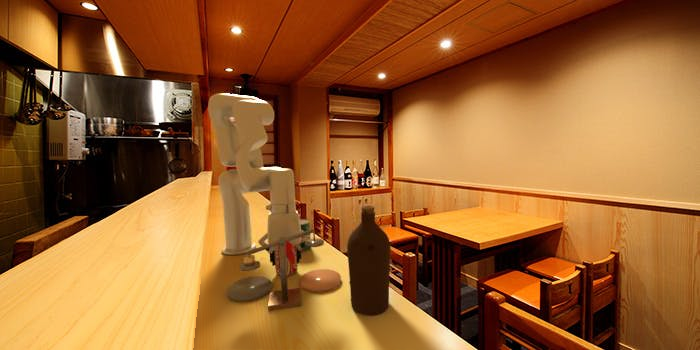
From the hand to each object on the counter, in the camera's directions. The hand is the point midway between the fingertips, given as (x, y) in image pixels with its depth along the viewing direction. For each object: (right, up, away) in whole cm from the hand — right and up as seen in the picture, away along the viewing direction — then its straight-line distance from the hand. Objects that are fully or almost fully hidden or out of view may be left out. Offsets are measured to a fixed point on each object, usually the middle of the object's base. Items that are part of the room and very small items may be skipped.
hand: (286, 262), depth 90 cm
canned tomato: (+1, -1, +21) cm, 21 cm away
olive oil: (+25, -5, -19) cm, 32 cm away
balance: (+3, -5, -16) cm, 17 cm away
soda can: (0, -3, 0) cm, 4 cm away
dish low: (-8, -5, -10) cm, 14 cm away
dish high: (+12, -4, -7) cm, 14 cm away
